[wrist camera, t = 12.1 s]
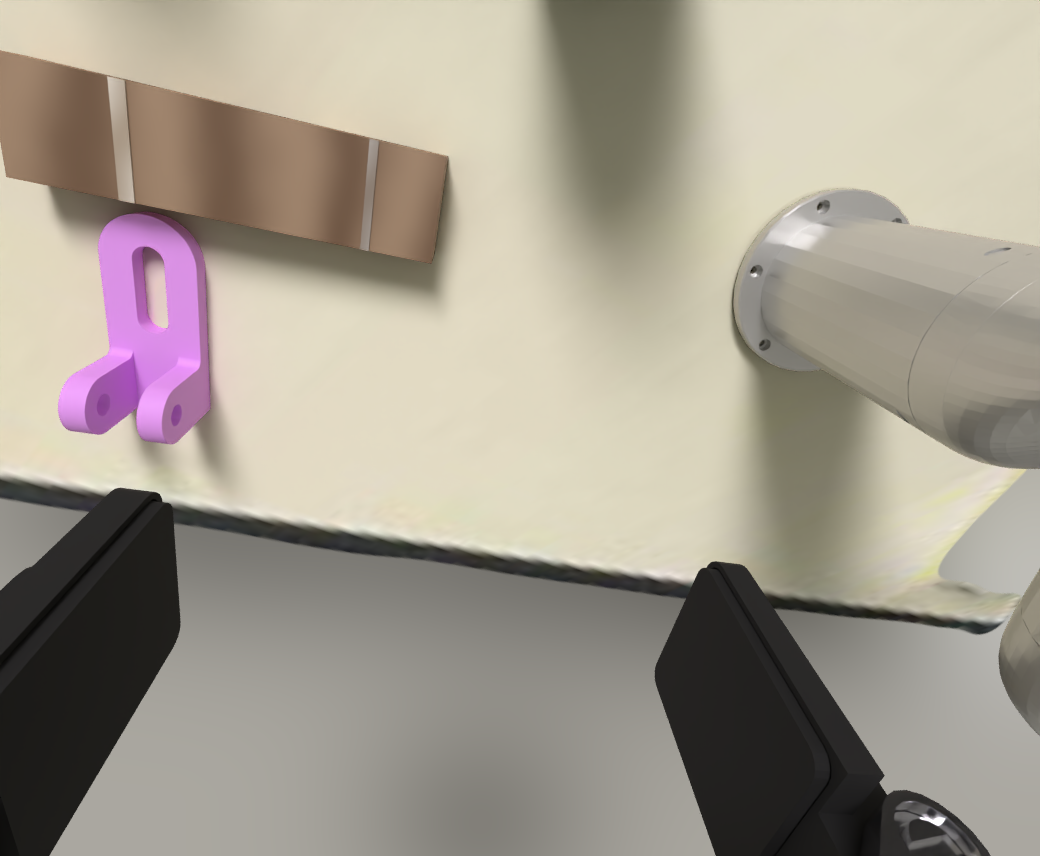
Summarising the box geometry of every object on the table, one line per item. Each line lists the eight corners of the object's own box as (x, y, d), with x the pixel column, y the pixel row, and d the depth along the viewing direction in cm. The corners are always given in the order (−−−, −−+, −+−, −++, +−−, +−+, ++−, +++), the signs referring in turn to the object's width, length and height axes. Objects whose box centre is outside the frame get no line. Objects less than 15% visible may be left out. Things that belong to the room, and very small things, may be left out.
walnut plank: (448, 156, 34) (446, 156, 31) (434, 255, 36) (431, 263, 34) (27, 56, 30) (-18, 46, 27) (44, 174, 32) (5, 177, 30)
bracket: (211, 407, 40) (164, 454, 34) (127, 395, 39) (63, 441, 33) (204, 221, 34) (146, 237, 28) (106, 202, 34) (24, 214, 27)
